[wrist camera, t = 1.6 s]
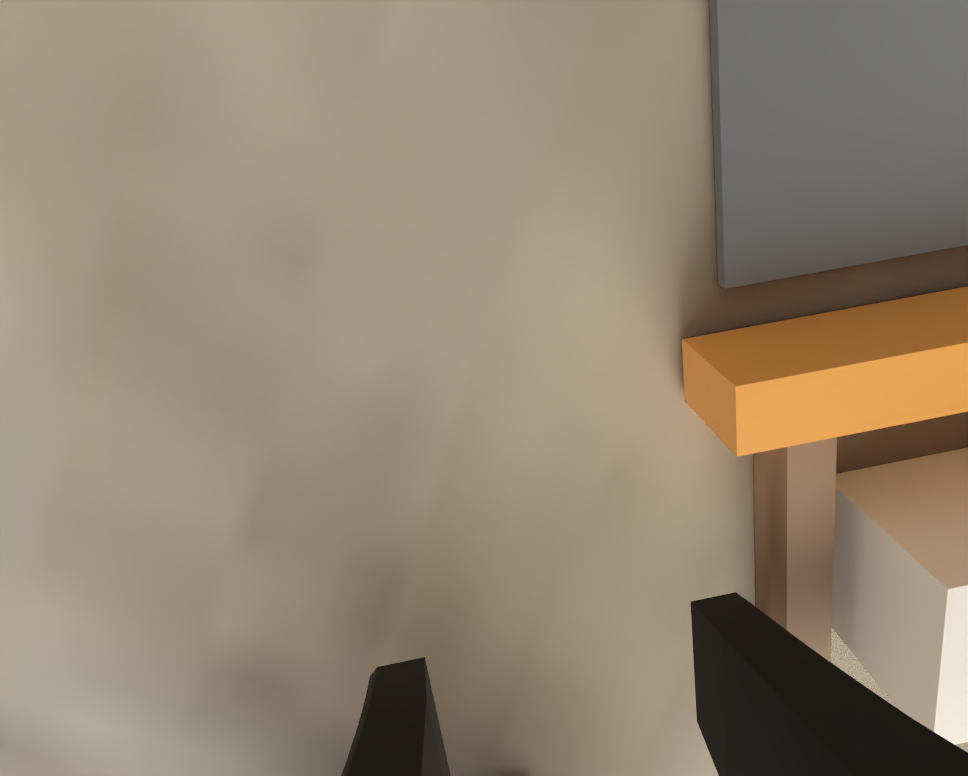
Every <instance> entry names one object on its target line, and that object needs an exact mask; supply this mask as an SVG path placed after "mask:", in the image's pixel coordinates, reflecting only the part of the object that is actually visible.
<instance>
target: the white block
mask: <svg viewBox="0 0 968 776" xmlns="http://www.w3.org/2000/svg"><path fill="white" fill-rule="evenodd" d="M831 627H832V628H833V629H834V630H835V632H836V633H837V634H838V635H839V636H840V638H841V639H842V640H843V641H844V643H845V644H846V645H847V646H848V647H849V649H850V650H851V651H852V652H853V654H854V655H855V656H856V657H857V658H858V660H859V661H860V662H861V663H862V665H863V666H864V667H865V668H866V669H867V671H868V672H869V673H870V674H871V676H872V677H873V678H874V679H875V680H876V682H877V683H878V684H879V685H880V687H881V688H882V689H883V690H884V691H885V693H886V694H887V695H888V696H889V698H890V699H891V700H892V701H893V702H894V704H895V705H896V706H897V707H898V708H899V710H900V711H902V712H903V713H905V714H906V715H908V716H909V717H911V718H912V719H914V720H916V721H917V722H919V723H920V724H922V725H924V726H925V727H927V728H928V729H930V730H932V731H933V732H935V733H936V734H938V735H940V736H941V737H943V738H945V739H946V740H948V741H949V742H951V743H953V744H954V745H956V744H960V743H964V742H968V448H963V449H958V450H953V451H948V452H943V453H938V454H933V455H928V456H923V457H918V458H913V459H908V460H903V461H899V462H894V463H889V464H884V465H879V466H874V467H869V468H864V469H859V470H854V471H849V472H844V473H839V474H836V491H835V524H834V557H833V589H832V622H831Z"/></svg>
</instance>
